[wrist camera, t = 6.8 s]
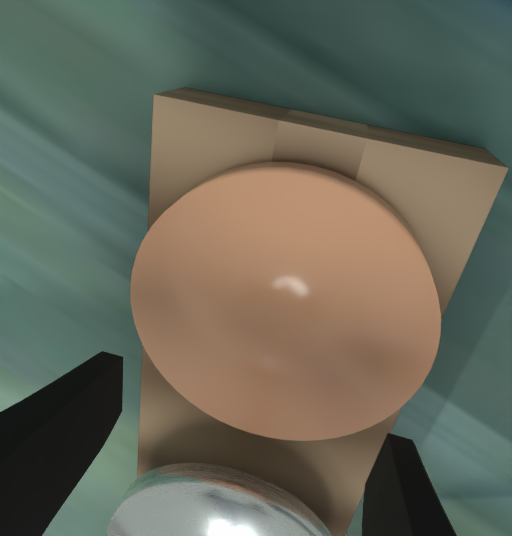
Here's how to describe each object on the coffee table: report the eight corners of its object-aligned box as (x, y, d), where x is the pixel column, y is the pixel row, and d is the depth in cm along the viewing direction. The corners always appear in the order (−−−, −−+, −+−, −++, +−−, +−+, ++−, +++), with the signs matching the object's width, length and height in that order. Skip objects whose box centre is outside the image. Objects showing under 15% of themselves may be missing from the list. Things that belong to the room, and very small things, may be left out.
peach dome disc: (379, 394, 21) (383, 472, 17) (168, 336, 23) (127, 396, 19) (467, 178, 16) (500, 220, 12) (185, 118, 17) (133, 138, 13)
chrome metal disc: (316, 574, 26) (307, 668, 22) (144, 517, 27) (107, 596, 23) (368, 451, 21) (369, 546, 17) (152, 388, 22) (105, 462, 18)
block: (324, 540, 29) (320, 589, 26) (154, 485, 30) (134, 527, 28) (485, 148, 16) (508, 167, 14) (184, 87, 18) (153, 94, 15)
